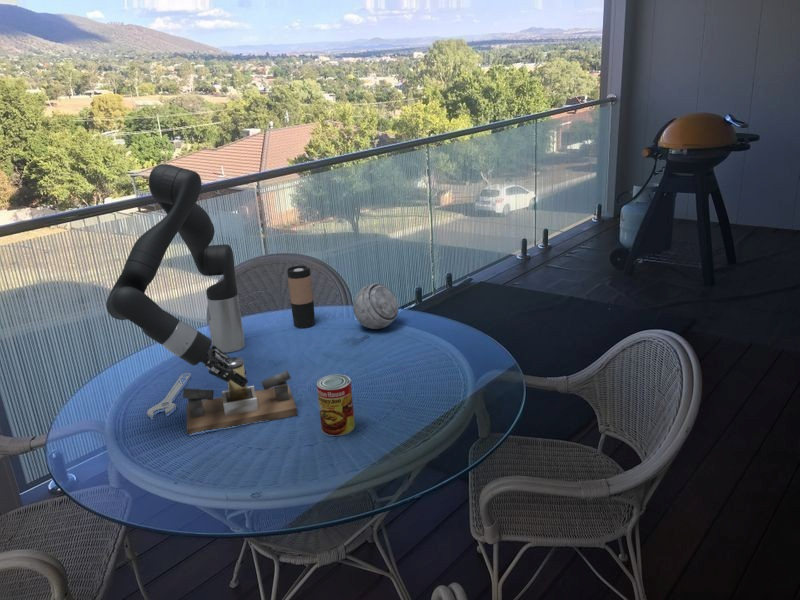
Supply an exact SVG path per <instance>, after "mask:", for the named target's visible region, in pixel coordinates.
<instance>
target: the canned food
mask: <svg viewBox="0 0 800 600" xmlns="http://www.w3.org/2000/svg"><path fill="white" fill-rule="evenodd" d="M316 390H317V391H316V392H317V400H318V410H319V417H320V426H321V432H322V433H323V434H325V435H326V436H331V437H338V436H344V435H347V434H349V433H351V432H352V431H354V429H355V423H356V422H355V414H354V402H353V392H352V380H351V378H350V377H349V376H348V375H344V374H330V375H329V374H327V375H326V376H323V377H321V378H319V379H318V380H317V382H316Z"/></svg>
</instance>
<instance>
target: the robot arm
mask: <svg viewBox="0 0 800 600" xmlns="http://www.w3.org/2000/svg"><path fill="white" fill-rule="evenodd" d="M148 185H149V191H150V194H151V195H152V196H151V197H152V198H153V199H154V200H155V201H156V203H157V204H158V205H159V206H160V208H162V210H163V211H164V212H165V213H166V215H165V216H164V217H163V218H162V219H161V220H160V221H159V222H157V223H156V224H155V225H153V226H152V227H151V228H149V229H148V230H146V231H144V233H142V235H141V236H139V237H138V239H137V240H136V241H135V243H134V244H133V246H132V248H131V250H130V252H129V255H128V256H127V259H126V261H125V264H124V266H123V269H122V272H121V273H120V274H119V276H118V279H117V280H116V282H115V284H114V285H113V287H112V288H111V290H110V293H109V294H108V297H107V300H106V304H105V306H106V307H105V308H106V311H107V313H108V314H109V315H110V317H112V318H113V319H115V320H118V321H126V320H128V321H130V322H131V323H133V324H134V325H136V327H139V328H140V329H142V332H143V334H145V336H147V337H149V338H150V339H152V340H153V341H155V342H156V343H158V344H159V345H161V346H163V347H164V348H165V349H166V350H168V351H169V353H172V354H173V355H175V356H176V357H178V358H180V359H181V360H183V361H185V362H186V363H188V364H189V365H191V366H197V365H199V363H202V364H203V365H204V366H205V368H206V369H207V370H208V371H207V372H208V373H209V374H210V375H212V376H213V377H216V378H218V379H220V380H223V381H224V382H226V383H228V382H229V381H230V380H231V381H233V382H235V383H236V384H238V385H239V386H241V387H244V386H245V385H246V384H248V382H249V380H248V378H247V377H246V375H247V371H246V370H245V377H246V378H245V377H243V376H242V375H240V374H238V373H237V372H235V370H233V369H231V368H230V367H229V364H228V363H227V362H226V361H225V360H227V359H230V358H231V357H230V356H229V355H227V354H226V353H233V352H234V353H235V352H237V351H240V350H242V349H244V347H245V346H246V343H245V342H246V341H245V335H244V329H243V322H242V321H243V320H242V313H241V307H240V302H239V301H240V300H239V293H238V288H237V279H236V270H235V269H236V267H235V257H234V251H233V249H232V247H231V246H230V245H229V244H224V243H222V244H211V243H212V241H213V239H214V236H215V226H214V224H213V221H212V219H211V217H210V215H209V214H208V213H207V211H206V210H205V209H204V208H203V207H202V206H201V205H199V204H198V203H197V202H198V200H199V198H200V195H201V191H202V178H201V176H200V174H199V173H198V172H196V171H195V170H191V169H188V168H184V167H179V166H176V165H172V164H165V163H164V164H162V163H160V164H158V165H156V166H154V167H153V168H152V170H151V171H150V173H149V176H148ZM177 233H178V234H179V236H180V238H181V239H182V241H183V242H184V243H185V245H186V247H187V249H188V250H189V252H190V254H191V257H192V259H193V261H194V264H195V267H196V269H197V271H198V272H199V273H200V274H201V275H202V276H205V277H214V276H216V277H217V276H223V278H222V279H221V280H220V281H218V282H217V283H215V284H212V285H210V286H208V287H207V288H206V293H205V294H206V299H207V306H208V310H209V312H208V313H209V317H210V319H209V320H208V326H209V327H208V328H209V331H210V337H209V336H207V335H205V334H203V333H202V332H201V331H199V330H197V329H196V328H194V327H193V326H192V325H190V324H188V323H186V322H184V321H182V320H180V319H179V318H177V317H175V315H173V314H171V313H170V312H168V311H167V310H164V309H163V308H162V307H160V306H159V304H157V302H155V301H154V300H153V299H152V298H151V297H149V296H148V295H147V294H146V290H147V288H148V286H149V285H150V284H151V283H152V282H153V280H154V279H155V277H156V274H157V273H158V270H159V267H160V266H161V263H162V261H163V259H164V257H165V255H166V252H167V250H168V248H169V246H170V245H171V244H172V242H173V240H174V238H175V236H176V235H177ZM210 244H211V245H210ZM226 373H228V375H226Z"/></svg>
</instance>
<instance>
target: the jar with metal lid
mask: <svg viewBox="0 0 800 600" xmlns="http://www.w3.org/2000/svg"><path fill="white" fill-rule="evenodd" d="M225 361H226V362H227V363H228V364H229V367H230V368H231V369H233V370H235V372H237V373H238V374H240V375H242V376H243V377H245V378H246V379H247V377H246V375H245V371H246V370H245V361H244V358H243V357H240V356H239V357H238V356H235V357H230V359H227V360H225ZM225 374H226V375H228V373H225ZM247 384H248V383H247ZM247 384H246V385H245V386H244V387H241V386H239V385H238V384H236V383H235V382H233V381H231V380H230V381H229V382H227V386H228V387H227V388H228V390H229V394H230V399H232V400H241V399H244V398H246V397H247V396H248V391H247V387H248V385H247Z"/></svg>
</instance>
